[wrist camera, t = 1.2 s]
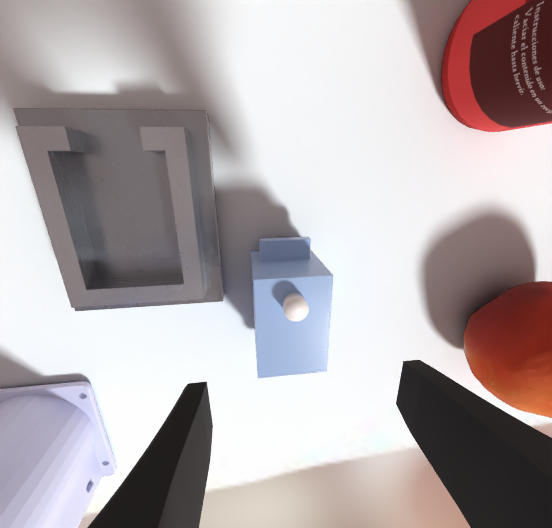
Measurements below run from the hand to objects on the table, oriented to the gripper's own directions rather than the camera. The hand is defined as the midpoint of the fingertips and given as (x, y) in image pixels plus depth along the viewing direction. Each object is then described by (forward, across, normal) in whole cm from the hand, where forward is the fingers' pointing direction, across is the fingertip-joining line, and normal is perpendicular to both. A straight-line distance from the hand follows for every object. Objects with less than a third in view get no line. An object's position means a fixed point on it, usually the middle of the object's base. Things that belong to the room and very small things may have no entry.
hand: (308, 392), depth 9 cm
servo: (+10, 0, 0) cm, 10 cm away
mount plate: (+9, +8, -5) cm, 14 cm away
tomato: (+10, -18, +4) cm, 21 cm away
